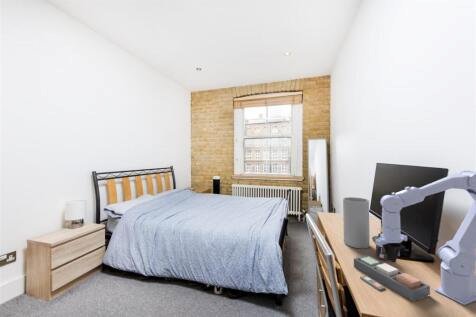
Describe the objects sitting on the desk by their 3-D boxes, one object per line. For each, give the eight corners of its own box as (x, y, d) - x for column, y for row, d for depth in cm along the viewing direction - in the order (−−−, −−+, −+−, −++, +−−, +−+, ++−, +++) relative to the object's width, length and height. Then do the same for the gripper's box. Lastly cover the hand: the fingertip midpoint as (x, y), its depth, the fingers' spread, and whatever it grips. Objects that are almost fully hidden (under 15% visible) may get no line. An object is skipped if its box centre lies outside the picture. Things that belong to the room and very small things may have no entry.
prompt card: (365, 276, 83) (365, 275, 83) (385, 289, 75) (385, 287, 75) (360, 278, 82) (360, 276, 82) (379, 290, 74) (379, 289, 74)
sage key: (368, 263, 91) (368, 256, 91) (379, 268, 86) (379, 262, 86) (360, 265, 89) (360, 258, 89) (370, 271, 85) (370, 264, 85)
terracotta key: (405, 280, 77) (405, 272, 77) (420, 288, 72) (420, 280, 72) (395, 283, 75) (395, 275, 75) (410, 292, 70) (410, 283, 70)
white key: (385, 270, 84) (385, 263, 84) (398, 277, 79) (398, 269, 79) (376, 272, 82) (376, 265, 82) (389, 279, 78) (388, 271, 78)
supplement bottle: (384, 262, 94) (384, 237, 93) (372, 255, 99) (372, 233, 99) (394, 259, 95) (394, 236, 95) (382, 254, 101) (381, 231, 101)
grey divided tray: (368, 262, 93) (368, 255, 93) (429, 295, 71) (429, 286, 71) (353, 266, 91) (353, 258, 91) (413, 301, 68) (413, 291, 68)
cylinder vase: (367, 241, 116) (366, 198, 116) (371, 250, 104) (370, 202, 104) (343, 238, 121) (342, 196, 121) (344, 246, 110) (343, 201, 109)
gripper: (393, 221, 85) (394, 253, 85) (367, 225, 80) (368, 259, 81) (412, 226, 78) (413, 261, 78) (385, 231, 74) (386, 268, 74)
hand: (391, 260), depth 79 cm, fingers closed
